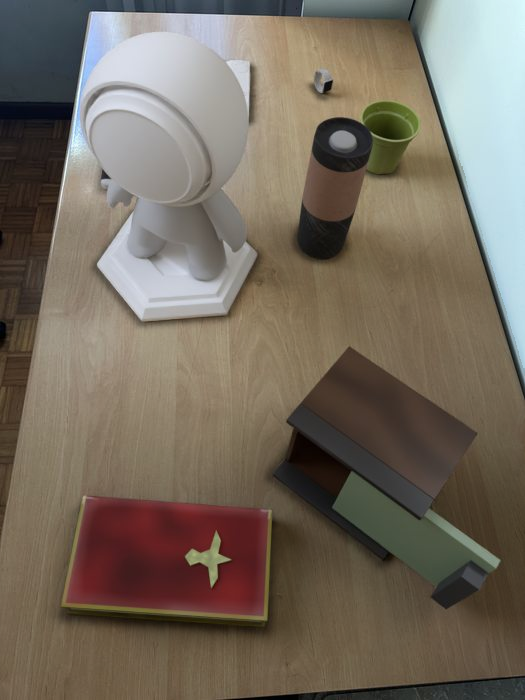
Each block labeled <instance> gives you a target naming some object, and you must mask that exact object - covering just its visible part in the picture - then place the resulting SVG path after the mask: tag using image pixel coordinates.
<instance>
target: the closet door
mask: <svg viewBox="0 0 525 700" xmlns="http://www.w3.org/2000/svg"><path fill="white" fill-rule="evenodd" d="M332 508H333V509H334V510H336V511H337V512H338V513H339V514H341V515H342V516H343V517H345V518H346V519H347V520H349V521H350V522H351V523H353V524H354V525H355V526H357V527H358V528H359V529H360V530H362V531H363V532H364V533H366V534H367V535H368V536H370V537H371V538H372V539H374V540H375V541H376V542H378V543H379V544H380V545H381V546H383V547H384V548H385V549H387V550H388V551H389V552H388V553H390V554H391V555H393V556H395V557H396V558H397V559H398V560H400V562H402V563H404V564H405V565H406V566H408V567H409V568H410V569H411V570H413V571H414V572H415V573H417V574H418V575H420V576H421V577H422V578H423V579H425V580H426V581H427V582H429V583H430V584H431V585H433V586H434V587H435V589H434V590H433V592H432V594H431V595H430V599H432V600H433V601H434V602H436V604H438V605H440V606H441V607H442V608H443V609H445V610H448V609H449V608H451V607H453V606H455V605H456V604H458V603H460V602H462V601H463V600H465V599H466V598H469V597H470V596H472V595H473V594H476V593H477V592H479V591H480V590H481V588H482V586H483V585H484V583H485V582H486V579H487V578H488V576H489V574H490V573H491V572H493V571H495V570H496V569H497V568H498V567H499V564H500V563H501V561H502V560H501V559H500V558H499V557H497V556H496V555H494V554H493V553H491V552H490V551H488V550H487V549H486V548H485V547H483V546H482V545H480V544H479V543H478V542H477V541H475V540H473V539H472V538H471V537H469V536H468V535H466V533H464V532H462V531H461V530H460V529H458V528H457V527H456V526H454V525H453V524H452V523H450V522H449V521H447V520H446V519H444V518H443V517H442V516H441V515H439V514H438V513H436V512H435V511H433V510H432V509H430V508H429V509H428V510H427V512H426V513H425V515H424V516H423V518H422V519H421V520H420V521H419V520H418V519H417V518H415V517H414V516H412V515H411V514H410V513H408V512H407V511H406V510H404V509H403V508H402V507H400V506H399V505H397V504H396V503H395V502H393V501H392V500H391V499H389V498H388V497H387V496H385V495H384V494H383V493H381V492H380V491H378V490H377V489H376V488H374V487H373V486H372V485H370V484H369V483H368V482H366V481H365V480H364V479H362V478H361V477H359V476H358V475H357V474H355V473H354V472H353V471H351V473H350V475H349V477H348V479H347V481H346V483H345V484H344V486H343V488H342V490H341V492H340V494H339V496H338V498H337V499H336V501H335V503H334V505H333V507H332Z"/></svg>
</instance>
